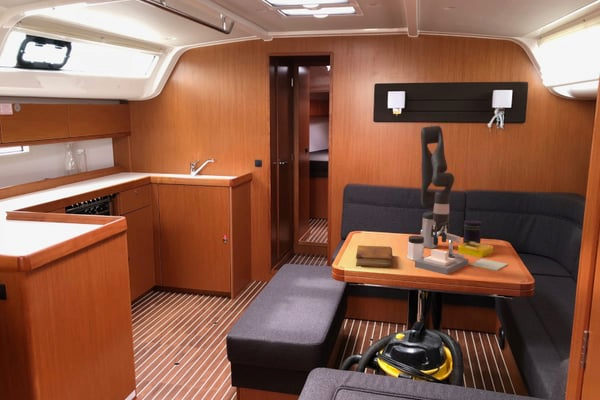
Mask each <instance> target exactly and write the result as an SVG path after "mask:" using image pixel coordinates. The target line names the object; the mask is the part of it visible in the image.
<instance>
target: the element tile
mask: <svg viewBox="0 0 600 400" xmlns="http://www.w3.org/2000/svg"><path fill="white" fill-rule="evenodd" d="M493 252H494V246H493V245H490V244H485V243H481V242H480V243H476V242H467V243H464V244H463V243H461V244H458V246H457V253H458V254H461V255H466V256H473V257H477V258H485V257H486V256H489V255H491V254H493Z"/></svg>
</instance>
